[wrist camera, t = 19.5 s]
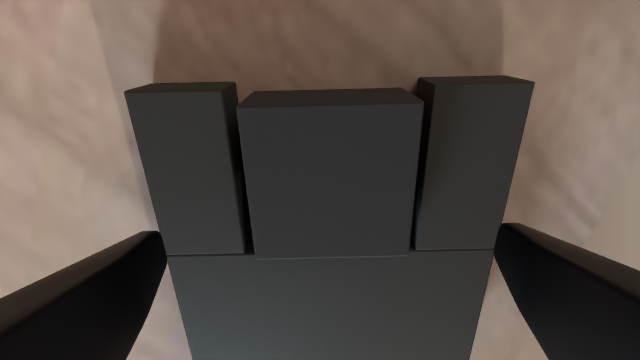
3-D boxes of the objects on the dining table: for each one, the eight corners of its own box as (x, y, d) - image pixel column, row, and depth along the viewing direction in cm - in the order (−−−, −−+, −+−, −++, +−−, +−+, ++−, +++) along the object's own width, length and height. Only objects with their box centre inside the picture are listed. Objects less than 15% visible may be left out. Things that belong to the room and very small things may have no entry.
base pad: (504, 75, 13) (535, 82, 11) (453, 333, 18) (468, 365, 17) (150, 83, 13) (122, 91, 11) (207, 338, 19) (194, 371, 17)
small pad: (402, 87, 13) (425, 100, 10) (392, 217, 15) (408, 257, 13) (252, 91, 13) (235, 105, 10) (266, 220, 15) (255, 260, 13)
